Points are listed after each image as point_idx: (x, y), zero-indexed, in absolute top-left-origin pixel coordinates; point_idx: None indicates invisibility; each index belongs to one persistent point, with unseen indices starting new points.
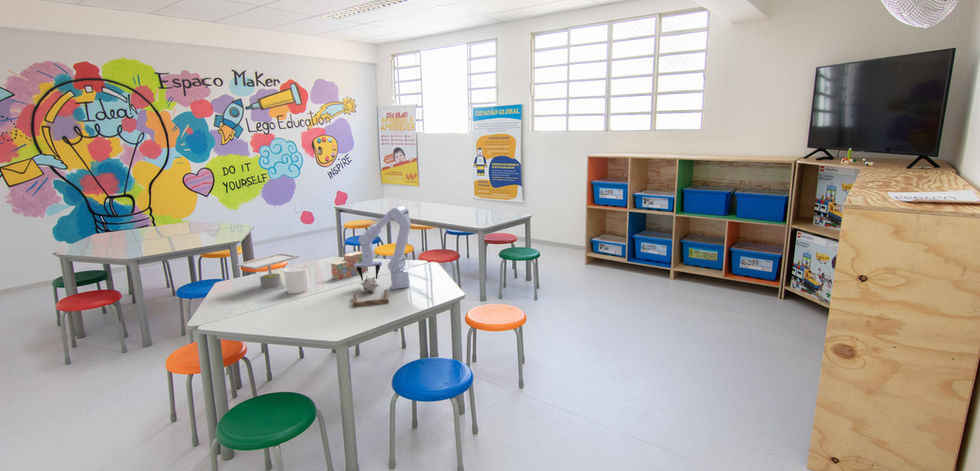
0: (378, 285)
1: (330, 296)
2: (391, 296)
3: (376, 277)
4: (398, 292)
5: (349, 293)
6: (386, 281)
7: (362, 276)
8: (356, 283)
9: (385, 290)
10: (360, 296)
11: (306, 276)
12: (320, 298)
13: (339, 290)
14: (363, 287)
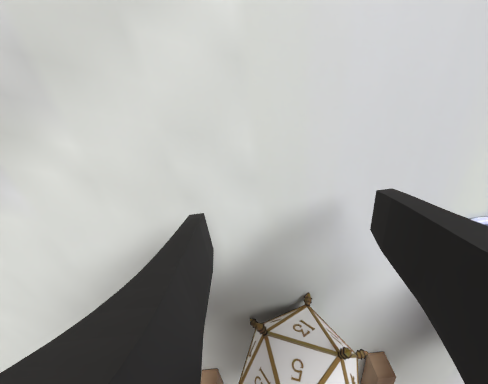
0: (361, 354)
1: None
2: (395, 374)
3: (388, 250)
4: None
5: None
6: (474, 75)
7: (202, 278)
8: (97, 77)
9: (386, 378)
10: (236, 361)
11: None
12: (5, 361)
13: (34, 265)
14: (247, 357)
